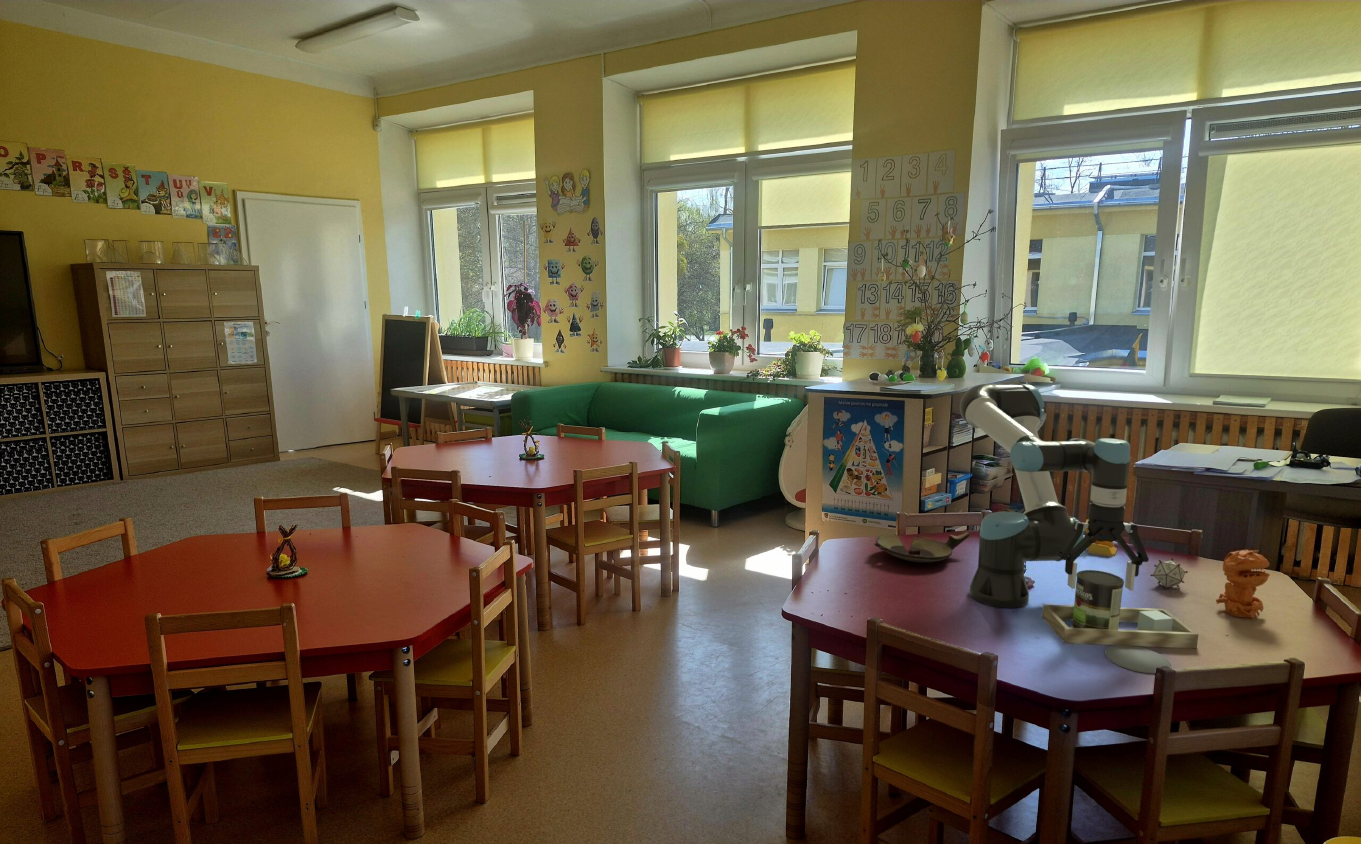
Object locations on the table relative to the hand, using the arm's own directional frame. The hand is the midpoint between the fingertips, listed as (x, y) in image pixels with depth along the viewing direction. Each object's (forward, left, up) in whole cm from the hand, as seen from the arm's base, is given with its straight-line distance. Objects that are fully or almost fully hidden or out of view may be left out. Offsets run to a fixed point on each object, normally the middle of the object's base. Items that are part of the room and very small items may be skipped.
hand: (1100, 587), depth 190 cm
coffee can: (0, 0, -12) cm, 12 cm away
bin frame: (+5, 0, -12) cm, 13 cm away
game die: (+34, +33, -12) cm, 49 cm away
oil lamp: (-31, +50, -12) cm, 60 cm away
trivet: (+3, -15, -12) cm, 19 cm away
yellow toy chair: (+29, +65, -12) cm, 72 cm away
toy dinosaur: (+43, +15, -12) cm, 47 cm away
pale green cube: (+14, 0, -12) cm, 18 cm away
